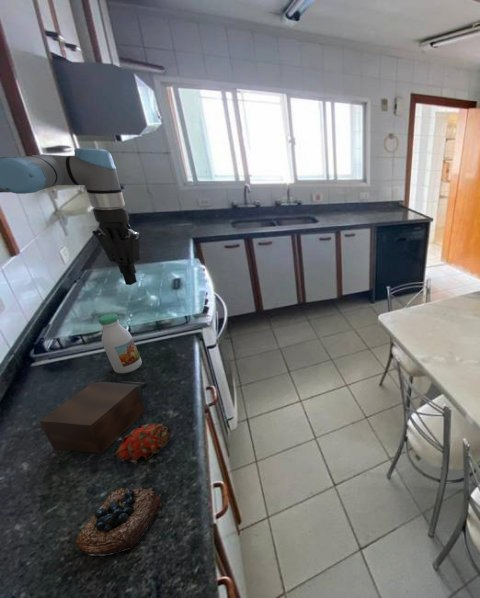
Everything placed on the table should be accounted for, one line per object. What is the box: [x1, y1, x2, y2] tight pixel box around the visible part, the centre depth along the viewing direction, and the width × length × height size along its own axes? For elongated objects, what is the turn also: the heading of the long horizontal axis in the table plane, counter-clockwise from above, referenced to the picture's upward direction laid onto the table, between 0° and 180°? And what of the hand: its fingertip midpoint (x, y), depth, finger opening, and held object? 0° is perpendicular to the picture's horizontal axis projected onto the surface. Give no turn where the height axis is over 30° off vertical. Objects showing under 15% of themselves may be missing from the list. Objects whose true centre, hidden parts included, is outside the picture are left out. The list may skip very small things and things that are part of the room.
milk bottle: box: [98, 313, 143, 374], centre depth 109 cm, size 8×8×20 cm
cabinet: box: [39, 381, 146, 454], centre depth 87 cm, size 15×13×10 cm
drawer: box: [99, 380, 148, 409], centre depth 91 cm, size 18×11×8 cm, turn 177°
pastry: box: [75, 487, 163, 555], centre depth 67 cm, size 11×12×6 cm
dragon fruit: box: [112, 423, 172, 465], centre depth 82 cm, size 8×8×12 cm
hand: (131, 283), depth 104 cm, fingers closed
